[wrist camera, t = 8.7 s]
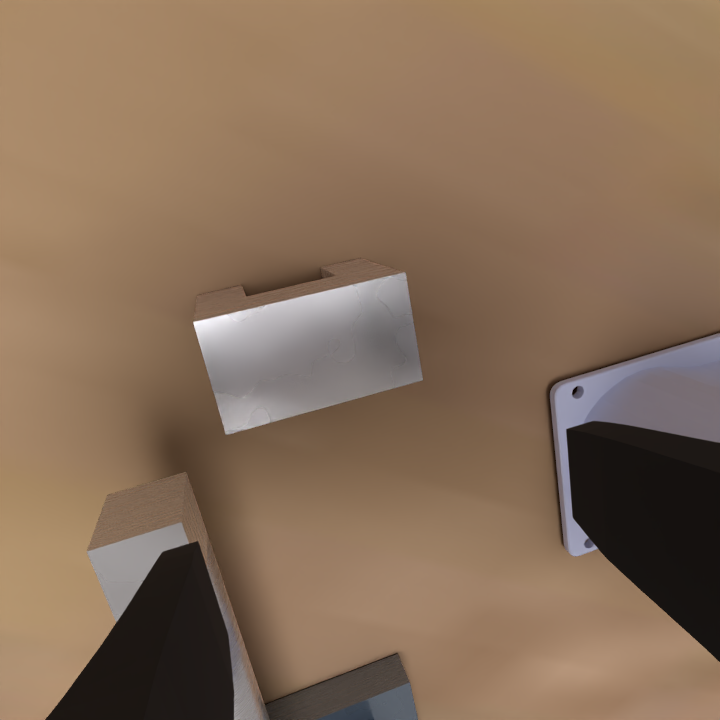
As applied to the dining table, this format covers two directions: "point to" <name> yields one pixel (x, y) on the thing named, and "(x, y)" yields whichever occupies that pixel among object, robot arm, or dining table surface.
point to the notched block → (307, 343)
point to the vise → (227, 607)
